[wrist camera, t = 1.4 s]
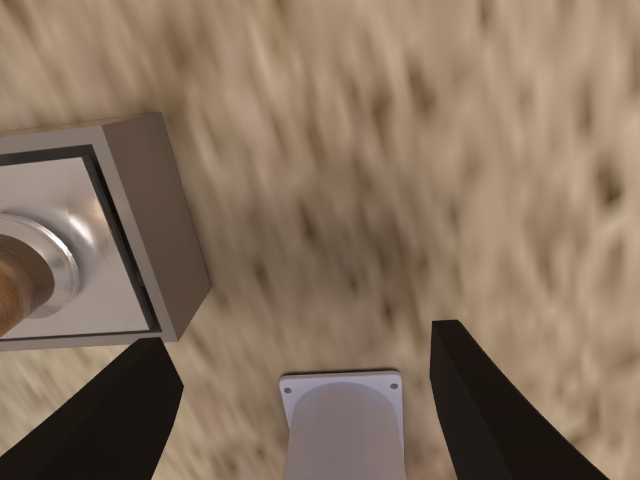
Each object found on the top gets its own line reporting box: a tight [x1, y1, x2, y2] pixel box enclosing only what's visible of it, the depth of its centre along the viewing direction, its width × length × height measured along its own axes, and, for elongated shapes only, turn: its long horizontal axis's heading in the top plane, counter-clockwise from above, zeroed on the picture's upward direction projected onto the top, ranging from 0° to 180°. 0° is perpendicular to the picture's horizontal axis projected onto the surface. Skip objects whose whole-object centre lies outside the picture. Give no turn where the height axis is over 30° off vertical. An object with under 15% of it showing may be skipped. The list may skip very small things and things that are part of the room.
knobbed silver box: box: [0, 112, 211, 352], centre depth 18 cm, size 10×12×5 cm
